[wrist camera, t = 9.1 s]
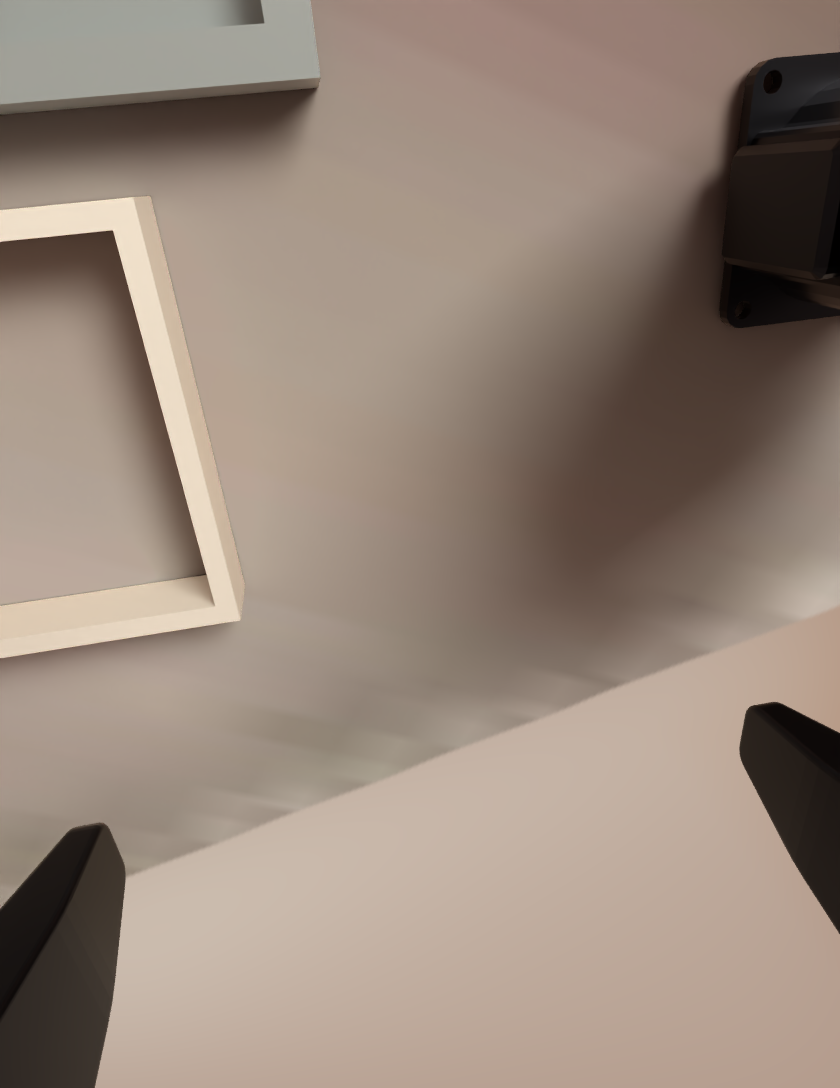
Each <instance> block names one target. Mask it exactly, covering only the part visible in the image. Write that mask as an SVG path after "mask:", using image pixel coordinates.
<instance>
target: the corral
mask: <svg viewBox="0 0 840 1088" xmlns="http://www.w3.org/2000/svg"><path fill="white" fill-rule="evenodd" d="M110 230H113V232H114V236H115V239H116V243H117V247H118V250H119V254H120V258H121V261H122V265H123V269H124V272H125V276H126V280H127V284H128V287H129V291H130V295H131V298H132V302H133V306H134V309H135V313H136V317H137V320H138V324H139V328H140V331H141V335H142V339H143V342H144V346H145V350H146V353H147V357H148V361H149V364H150V368H151V372H152V375H153V379H154V383H155V386H156V390H157V394H158V398H159V401H160V405H161V409H162V412H163V416H164V420H165V423H166V427H167V431H168V434H169V438H170V442H171V445H172V449H173V453H174V456H175V460H176V464H177V467H178V471H179V475H180V478H181V482H182V486H183V489H184V493H185V497H186V501H187V504H188V508H189V512H190V515H191V519H192V523H193V526H194V530H195V534H196V537H197V541H198V545H199V548H200V552H201V556H202V559H203V563H204V567H205V570H206V574H207V575H202V576H196V577H189V578H182V579H176V580H169V581H163V582H156V583H149V584H143V585H136V586H130V587H123V588H116V589H110V590H103V591H97V592H90V593H83V594H77V595H70V596H63V597H57V598H50V599H44V600H37V601H30V602H24V603H17V604H11V605H4V606H0V658H5V657H12V656H18V655H24V654H31V653H37V652H43V651H50V650H56V649H62V648H69V647H75V646H81V645H88V644H94V643H100V642H106V641H113V640H119V639H125V638H132V637H138V636H144V635H151V634H157V633H163V632H170V631H176V630H182V629H189V628H195V627H201V626H208V625H214V624H220V623H226V622H233V621H239V620H241V613H242V605H243V598H244V590H245V583H244V579H243V575H242V571H241V567H240V563H239V559H238V555H237V551H236V546H235V542H234V538H233V534H232V530H231V526H230V522H229V518H228V514H227V509H226V505H225V501H224V497H223V493H222V489H221V485H220V481H219V477H218V472H217V468H216V464H215V460H214V456H213V452H212V448H211V444H210V440H209V435H208V431H207V427H206V423H205V419H204V415H203V411H202V407H201V403H200V398H199V394H198V390H197V386H196V382H195V378H194V374H193V370H192V366H191V361H190V357H189V353H188V349H187V345H186V341H185V337H184V333H183V329H182V324H181V320H180V316H179V312H178V308H177V304H176V300H175V296H174V292H173V287H172V283H171V279H170V275H169V271H168V267H167V263H166V259H165V255H164V250H163V246H162V242H161V238H160V234H159V230H158V226H157V222H156V218H155V213H154V209H153V205H152V201H151V197H150V196H142V197H130V198H120V199H110V200H100V201H90V202H80V203H69V204H59V205H49V206H39V207H29V208H18V209H8V210H0V242H2V241H12V240H22V239H31V238H41V237H51V236H61V235H70V234H80V233H90V232H100V231H110Z"/></svg>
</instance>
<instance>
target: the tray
mask: <svg viewBox="0 0 840 1088" xmlns="http://www.w3.org/2000/svg"><path fill="white" fill-rule="evenodd" d="M319 82H320V70H319V62H318V54H317V47H316V39H315V31H314V23H313V16H312V8H311V0H0V115H5V114H16V113H28V112H40V111H51V110H63V109H75V108H87V107H98V106H110V105H122V104H133V103H145V102H157V101H168V100H180V99H192V98H204V97H215V96H227V95H239V94H250V93H262V92H274V91H285V90H297V89H309V88H318V87H319Z"/></svg>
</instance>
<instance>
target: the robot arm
mask: <svg viewBox="0 0 840 1088" xmlns="http://www.w3.org/2000/svg"><path fill="white" fill-rule="evenodd" d="M768 73H770V75H771V76H772V80H773V84H772V87H771V90H770V91H769V92H768V93H766V92H765V90H764V89H763V81H764V78H765V76H766V75H767V74H768ZM722 256H723V258H724V259H725V264H724V273H723V281H722V290H721V299H720V308H719V314H720V318H721V320H722V322H724V323H725V324H727V325H729V326H732V327H736V328H744V327H752V326H760V325H768V324H776V323H784V322H792V321H800V320H808V319H816V318H823V317H831V316H839V315H840V52H838V53H826V54H815V55H803V56H792V57H780V58H773V59H770V60H766V61H763V62H760V63H758V64H757V65H756V66H755V67H753V68H752V70H751V71H750V73H749V75H748V76H747V80H746V83H745V89H744V98H743V107H742V115H741V124H740V133H739V142H738V150H737V153H736V154H735V156H734V157H733V159H732V167H731V176H730V185H729V194H728V202H727V211H726V220H725V229H724V238H723V247H722ZM740 302H743V306H744V307H743V310H742V312H741V313H740V314H739V315H738V316H735V309H736V306H737V305H738V304H739V303H740ZM740 757H741V761H742V763H743V765H744V767H745V770H746V771H747V773H748V775H749V777H750V779H751V781H752V783H753V785H754V787H755V789H756V790H757V793H758V795H759V797H760V799H761V800H762V802H763V804H764V806H765V808H766V810H767V812H768V814H769V816H770V818H771V820H772V822H773V824H774V826H775V828H776V830H777V832H778V834H779V836H780V837H781V839H782V841H783V843H784V845H785V847H786V849H787V851H788V853H789V854H790V856H791V858H792V860H793V862H794V863H795V865H796V867H797V868H798V870H799V871H800V873H801V875H802V876H803V878H804V879H805V881H806V883H807V884H808V885H809V887H810V889H811V890H812V892H813V893H814V895H815V897H816V898H817V900H818V901H819V902H820V904H821V906H822V907H823V909H824V910H825V912H826V914H827V915H828V917H829V918H830V920H831V921H832V923H833V924H834V926H835V927H836V929H837V930H838V932H839V934H840V733H839V732H837V731H835V730H833V729H831V728H829V727H827V726H825V725H823V724H821V723H819V722H817V721H815V720H813V719H811V718H809V717H807V716H805V715H803V714H801V713H799V712H797V711H795V710H793V709H791V708H789V707H787V706H785V705H783V704H781V703H778V702H770V703H765V704H759V705H753V706H751V707H749V708H748V710H747V711H746V714H745V719H744V725H743V730H742V736H741V741H740ZM124 890H125V866H124V862H123V859H122V857H121V855H120V852H119V850H118V848H117V846H116V843H115V841H114V839H113V836H112V834H111V832H110V829H109V828H108V826H107V825H106V824H104V823H95V824H90V825H84V826H78V827H75V828H73V829H71V830H70V831H68V832H67V833H66V834H65V836H64V837H63V838H62V839H61V840H60V841H59V842H58V844H57V845H56V846H55V847H54V848H53V849H52V850H51V852H50V853H49V854H48V855H47V856H46V857H45V858H44V859H43V861H42V862H41V863H40V864H39V865H38V866H37V867H36V869H35V870H34V871H33V872H32V873H31V874H30V875H29V877H28V878H27V879H26V880H25V881H24V882H23V883H22V885H21V886H20V887H19V888H18V889H17V890H16V891H15V893H14V894H13V895H12V896H11V897H10V898H9V899H8V901H7V902H6V903H5V904H4V905H3V906H2V907H1V909H0V1088H95V1083H96V1079H97V1074H98V1069H99V1065H100V1060H101V1055H102V1050H103V1046H104V1041H105V1036H106V1032H107V1027H108V1022H109V1017H110V1011H111V1006H112V1000H113V991H114V983H115V976H116V966H117V956H118V947H119V937H120V927H121V918H122V909H123V899H124Z"/></svg>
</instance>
